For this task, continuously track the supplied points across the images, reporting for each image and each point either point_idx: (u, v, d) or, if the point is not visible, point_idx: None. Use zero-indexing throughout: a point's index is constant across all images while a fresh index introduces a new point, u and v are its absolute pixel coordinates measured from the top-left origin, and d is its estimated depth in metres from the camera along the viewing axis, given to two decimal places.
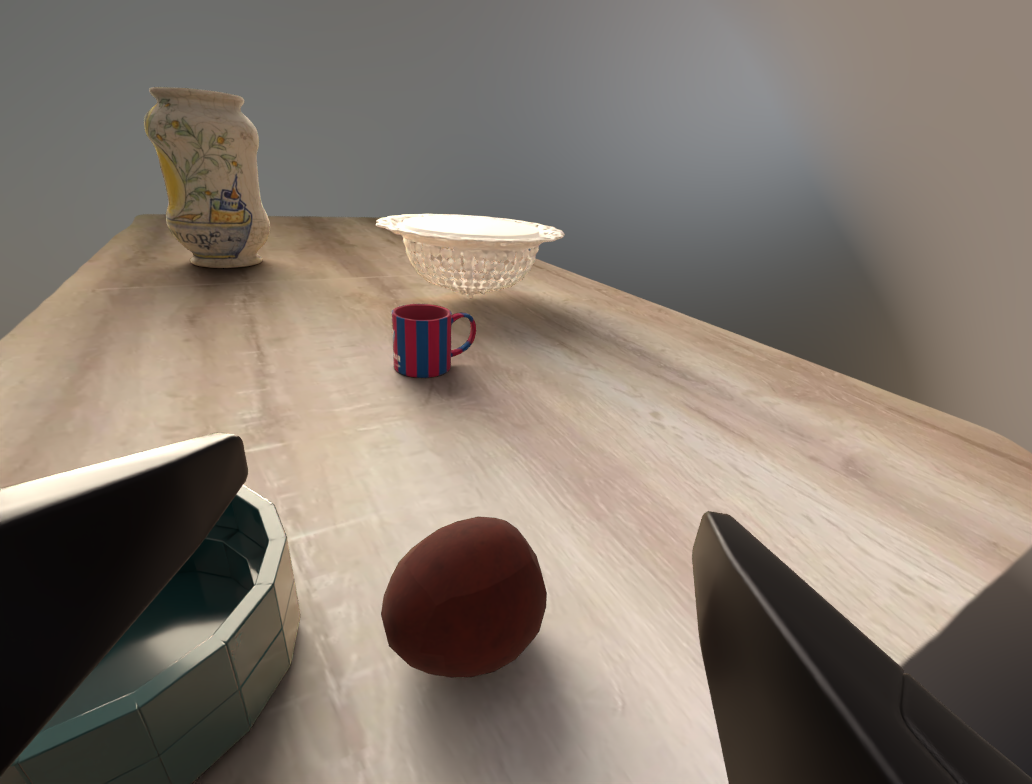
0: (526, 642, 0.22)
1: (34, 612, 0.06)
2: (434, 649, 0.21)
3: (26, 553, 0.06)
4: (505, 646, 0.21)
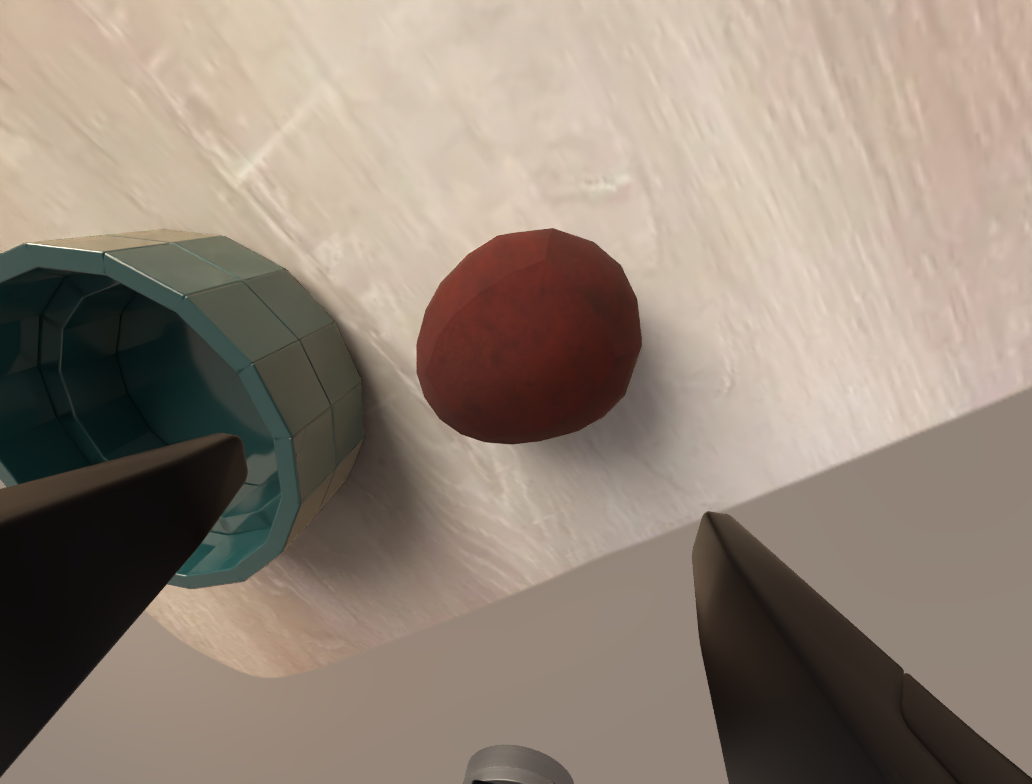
0: None
1: (34, 612, 0.06)
2: None
3: (26, 553, 0.06)
4: (583, 427, 0.18)
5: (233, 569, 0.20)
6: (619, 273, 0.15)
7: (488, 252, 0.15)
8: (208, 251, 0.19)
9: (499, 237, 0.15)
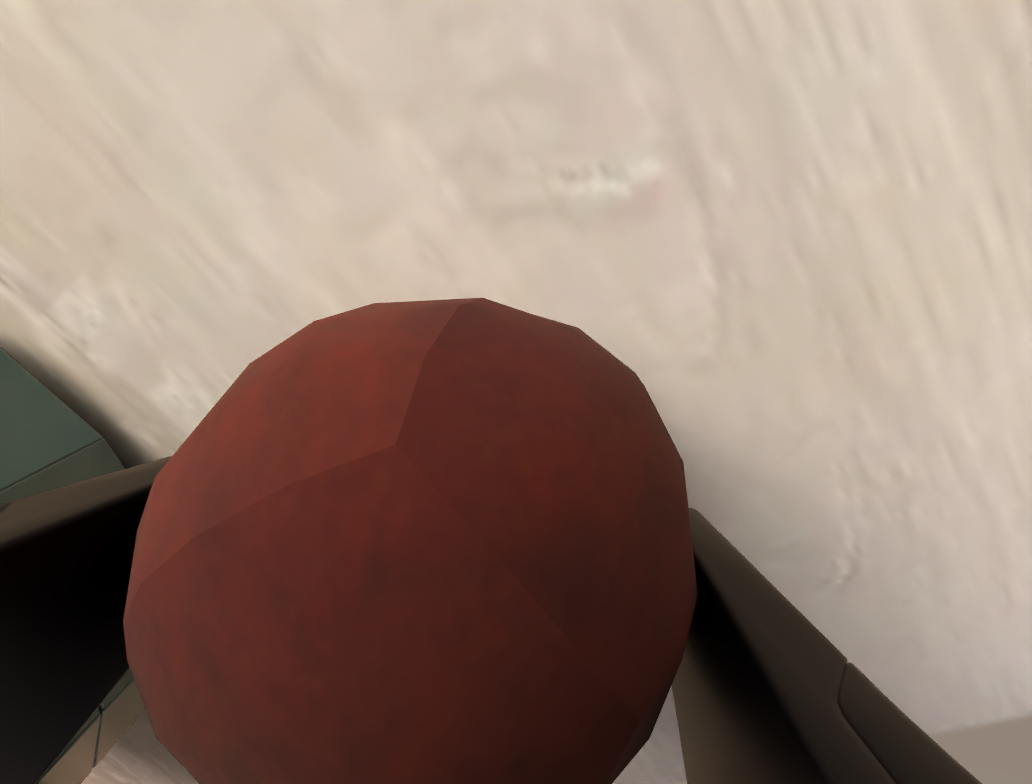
0: None
1: (68, 619, 0.06)
2: None
3: (59, 560, 0.06)
4: None
5: None
6: (644, 429, 0.05)
7: (260, 385, 0.05)
8: None
9: (312, 329, 0.06)
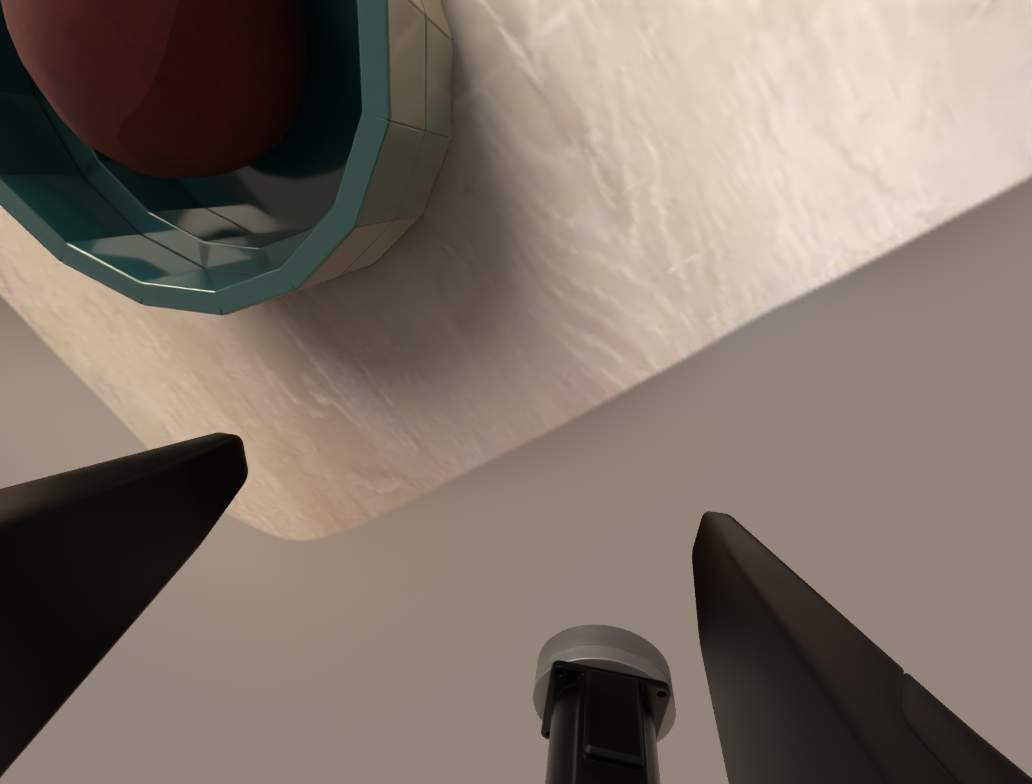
0: (288, 102, 0.15)
1: (34, 612, 0.06)
2: (176, 174, 0.15)
3: (26, 553, 0.06)
4: (256, 136, 0.15)
5: (283, 268, 0.14)
6: None
7: None
8: None
9: None
